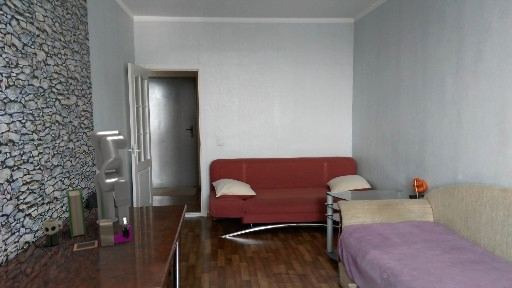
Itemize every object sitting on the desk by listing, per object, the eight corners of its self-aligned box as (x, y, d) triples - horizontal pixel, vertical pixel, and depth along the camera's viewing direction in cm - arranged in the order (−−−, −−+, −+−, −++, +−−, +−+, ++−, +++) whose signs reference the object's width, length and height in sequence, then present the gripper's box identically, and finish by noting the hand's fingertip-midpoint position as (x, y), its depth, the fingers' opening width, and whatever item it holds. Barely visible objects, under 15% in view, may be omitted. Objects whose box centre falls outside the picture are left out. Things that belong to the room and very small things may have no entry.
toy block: (130, 236, 196) (129, 223, 196) (131, 240, 191) (130, 226, 190) (101, 242, 190) (99, 228, 190) (101, 246, 185) (99, 231, 184)
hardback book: (86, 235, 203) (82, 193, 201) (71, 237, 200) (67, 195, 198) (83, 227, 219) (80, 188, 217) (70, 229, 215) (66, 190, 213)
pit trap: (74, 244, 188) (74, 244, 188) (97, 241, 192) (97, 240, 192) (73, 251, 179) (73, 250, 179) (97, 247, 183) (97, 246, 183)
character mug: (39, 248, 185) (37, 224, 184) (42, 244, 192) (39, 220, 190) (63, 244, 189) (61, 220, 188) (65, 240, 195) (62, 217, 194)
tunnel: (101, 239, 194) (100, 219, 193) (113, 237, 196) (112, 217, 195) (101, 247, 183) (99, 225, 182) (114, 244, 185) (112, 223, 184)
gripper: (115, 200, 197) (117, 231, 199) (115, 206, 181) (118, 241, 183) (129, 198, 200) (132, 229, 202) (131, 204, 184) (134, 238, 186)
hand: (125, 234), depth 192 cm, fingers open, 6 cm apart
